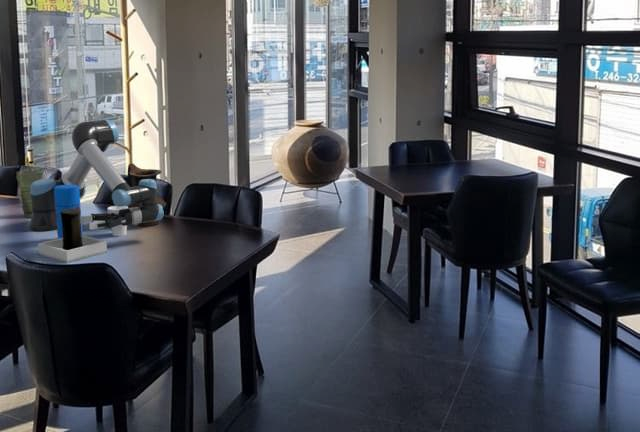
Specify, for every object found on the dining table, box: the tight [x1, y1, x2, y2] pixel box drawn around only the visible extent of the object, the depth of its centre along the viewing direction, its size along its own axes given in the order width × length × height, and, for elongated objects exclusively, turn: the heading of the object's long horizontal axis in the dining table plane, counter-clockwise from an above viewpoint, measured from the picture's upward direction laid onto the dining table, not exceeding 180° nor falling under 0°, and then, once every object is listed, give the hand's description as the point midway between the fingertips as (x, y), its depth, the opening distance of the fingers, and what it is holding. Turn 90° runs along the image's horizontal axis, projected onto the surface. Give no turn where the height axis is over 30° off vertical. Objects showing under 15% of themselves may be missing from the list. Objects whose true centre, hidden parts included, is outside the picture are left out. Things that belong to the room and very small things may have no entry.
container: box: [60, 209, 83, 250], centre depth 318 cm, size 9×9×18 cm
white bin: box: [37, 234, 108, 264], centre depth 319 cm, size 20×20×5 cm
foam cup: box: [107, 205, 129, 237], centre depth 350 cm, size 10×9×13 cm
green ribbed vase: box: [15, 167, 45, 218], centre depth 385 cm, size 11×12×25 cm
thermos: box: [54, 185, 83, 239], centre depth 339 cm, size 11×11×25 cm
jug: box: [127, 162, 167, 227], centre depth 369 cm, size 21×18×30 cm
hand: (83, 223), depth 320 cm, fingers open, 13 cm apart
